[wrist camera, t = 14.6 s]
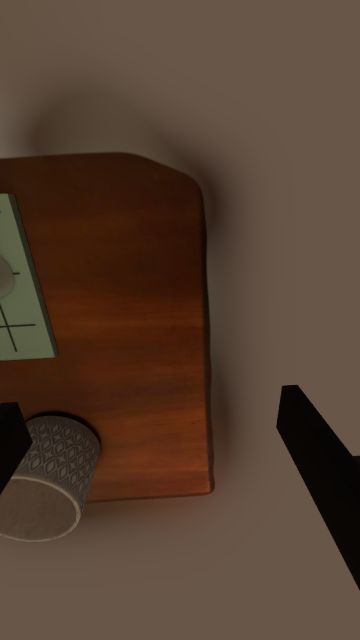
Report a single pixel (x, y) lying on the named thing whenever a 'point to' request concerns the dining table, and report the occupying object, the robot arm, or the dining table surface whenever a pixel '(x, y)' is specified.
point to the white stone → (5, 279)
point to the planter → (49, 481)
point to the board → (21, 294)
